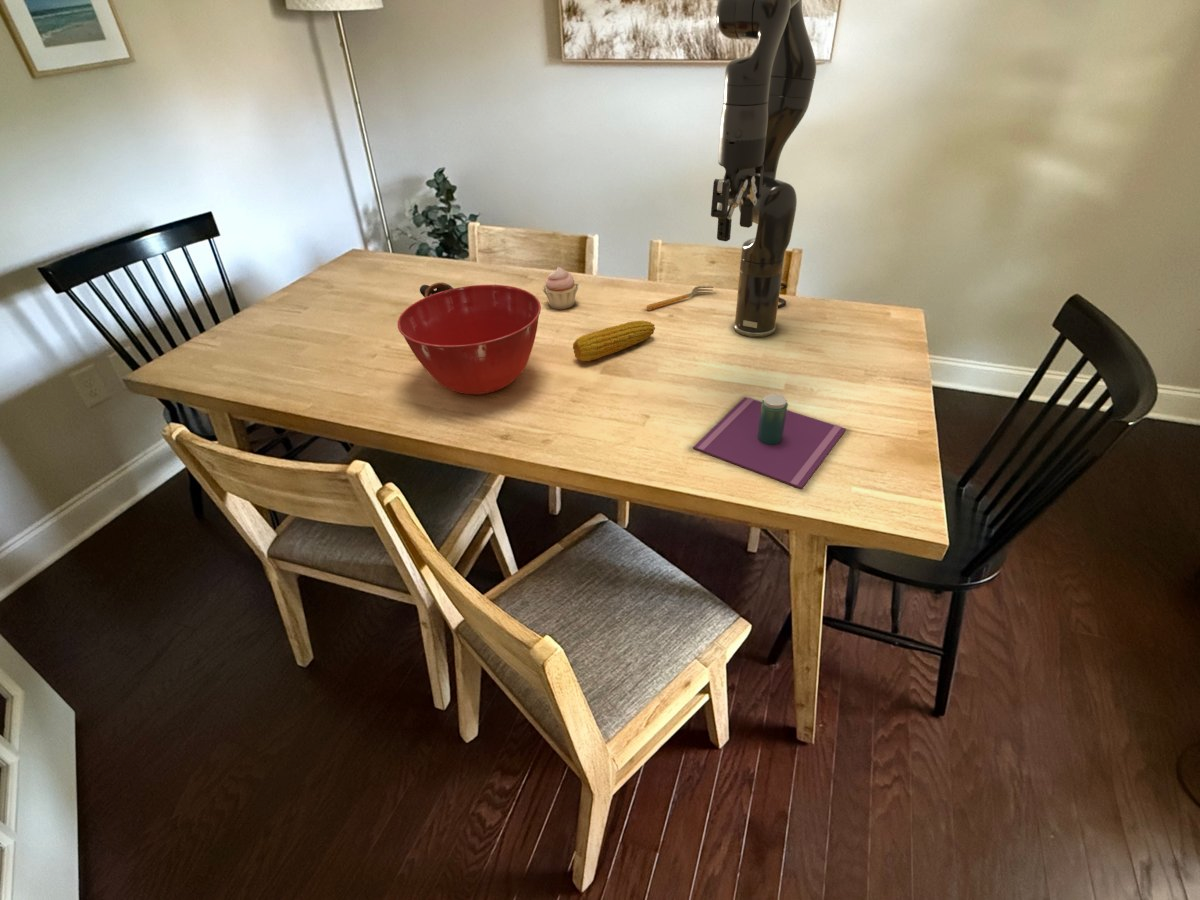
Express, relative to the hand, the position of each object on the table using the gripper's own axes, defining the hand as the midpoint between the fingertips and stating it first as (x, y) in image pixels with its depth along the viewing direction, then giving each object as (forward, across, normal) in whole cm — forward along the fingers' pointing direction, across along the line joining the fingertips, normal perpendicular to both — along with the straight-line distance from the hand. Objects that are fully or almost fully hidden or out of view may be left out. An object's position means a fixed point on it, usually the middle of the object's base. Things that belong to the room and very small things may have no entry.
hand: (734, 233), depth 114 cm
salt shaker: (+30, +14, +17) cm, 37 cm away
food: (+30, +1, -27) cm, 40 cm away
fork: (+30, -30, -28) cm, 51 cm away
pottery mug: (+30, +7, -78) cm, 84 cm away
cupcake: (+30, -12, -53) cm, 62 cm away
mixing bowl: (+30, +27, -43) cm, 59 cm away
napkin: (+30, +14, +17) cm, 37 cm away
